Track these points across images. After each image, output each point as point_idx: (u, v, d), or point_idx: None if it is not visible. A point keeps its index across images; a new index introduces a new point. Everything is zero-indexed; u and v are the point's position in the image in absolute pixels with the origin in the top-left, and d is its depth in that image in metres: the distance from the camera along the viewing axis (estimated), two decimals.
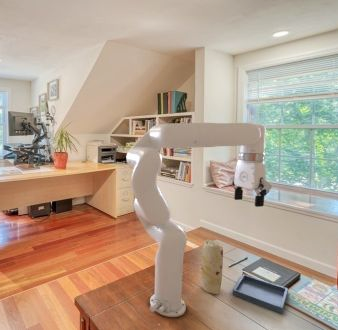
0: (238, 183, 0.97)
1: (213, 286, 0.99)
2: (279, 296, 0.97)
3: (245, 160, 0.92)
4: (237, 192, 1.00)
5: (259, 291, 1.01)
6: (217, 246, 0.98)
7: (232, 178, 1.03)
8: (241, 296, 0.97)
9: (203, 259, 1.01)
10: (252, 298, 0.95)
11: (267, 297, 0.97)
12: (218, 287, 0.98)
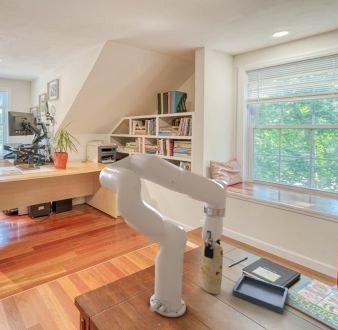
0: None
1: (213, 286, 0.99)
2: (279, 296, 0.97)
3: None
4: None
5: (259, 291, 1.01)
6: (217, 246, 0.98)
7: None
8: (241, 296, 0.97)
9: (203, 259, 1.01)
10: (252, 298, 0.95)
11: (267, 297, 0.97)
12: (218, 287, 0.98)
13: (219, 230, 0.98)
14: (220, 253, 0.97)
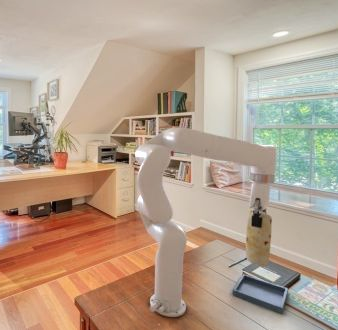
0: None
1: (261, 257, 0.94)
2: (279, 296, 0.97)
3: (250, 179, 0.96)
4: None
5: (259, 291, 1.01)
6: (265, 215, 0.94)
7: None
8: (241, 296, 0.97)
9: (249, 229, 0.97)
10: (252, 298, 0.95)
11: (267, 297, 0.97)
12: (266, 258, 0.94)
13: (268, 198, 0.93)
14: (269, 221, 0.92)
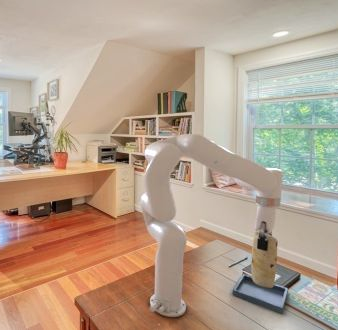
0: None
1: (267, 279, 0.95)
2: (279, 296, 0.97)
3: None
4: None
5: (259, 291, 1.01)
6: (271, 238, 0.94)
7: None
8: (241, 296, 0.97)
9: (255, 251, 0.97)
10: (252, 298, 0.95)
11: (267, 297, 0.97)
12: (272, 280, 0.94)
13: (273, 221, 0.94)
14: (275, 245, 0.93)
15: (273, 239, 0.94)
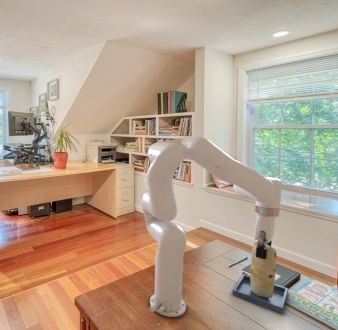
0: None
1: (265, 290, 0.95)
2: (279, 296, 0.97)
3: (255, 211, 0.97)
4: None
5: None
6: (270, 248, 0.95)
7: None
8: (241, 296, 0.97)
9: (254, 261, 0.98)
10: (252, 298, 0.95)
11: None
12: (271, 291, 0.95)
13: (272, 230, 0.94)
14: (274, 255, 0.93)
15: (272, 250, 0.94)
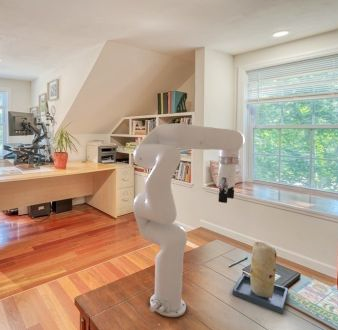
0: None
1: (265, 290, 0.95)
2: (279, 296, 0.97)
3: None
4: (227, 191, 1.13)
5: None
6: (270, 248, 0.95)
7: None
8: (241, 296, 0.97)
9: (254, 262, 0.98)
10: (252, 298, 0.95)
11: None
12: (271, 291, 0.95)
13: (233, 178, 1.06)
14: (274, 255, 0.93)
15: (272, 250, 0.94)
